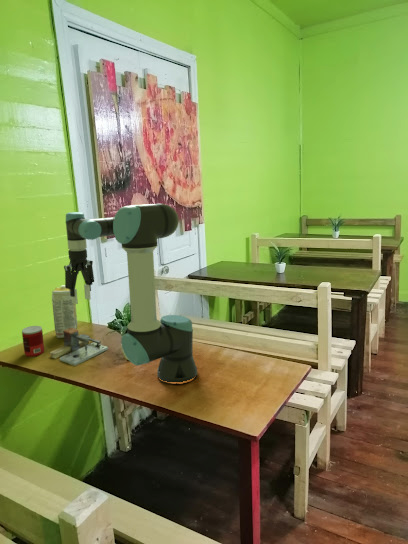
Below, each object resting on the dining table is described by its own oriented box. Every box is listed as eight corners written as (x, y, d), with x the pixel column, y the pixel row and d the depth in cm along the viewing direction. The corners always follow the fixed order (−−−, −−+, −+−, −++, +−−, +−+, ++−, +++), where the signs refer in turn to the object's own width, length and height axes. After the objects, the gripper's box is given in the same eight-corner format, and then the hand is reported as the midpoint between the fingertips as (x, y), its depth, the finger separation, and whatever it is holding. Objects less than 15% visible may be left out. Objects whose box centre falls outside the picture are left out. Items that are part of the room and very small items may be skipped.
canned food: (47, 349, 174) (45, 325, 171) (38, 357, 166) (35, 333, 164) (30, 348, 175) (28, 325, 172) (21, 357, 167) (18, 332, 164)
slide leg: (92, 352, 171) (91, 333, 169) (85, 355, 167) (83, 337, 165) (72, 345, 178) (70, 327, 176) (64, 348, 174) (62, 330, 172)
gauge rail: (103, 347, 176) (102, 340, 175) (69, 364, 161) (68, 355, 160) (83, 341, 182) (82, 333, 182) (49, 356, 168) (48, 348, 167)
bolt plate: (108, 349, 174) (107, 346, 174) (74, 366, 159) (74, 363, 159) (93, 344, 179) (93, 341, 179) (59, 360, 164) (59, 357, 164)
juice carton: (79, 331, 193) (75, 283, 187) (75, 338, 185) (70, 288, 179) (59, 332, 192) (54, 284, 186) (54, 339, 185) (49, 289, 179)
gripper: (89, 244, 180) (92, 294, 185) (52, 252, 164) (57, 305, 169) (101, 246, 176) (104, 296, 181) (64, 254, 160) (69, 309, 166)
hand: (81, 301), depth 175 cm, fingers open, 6 cm apart
